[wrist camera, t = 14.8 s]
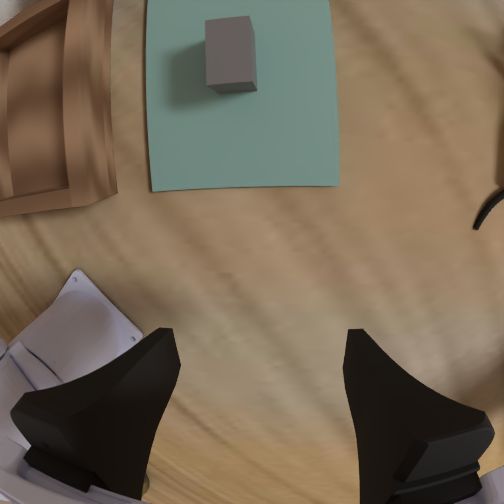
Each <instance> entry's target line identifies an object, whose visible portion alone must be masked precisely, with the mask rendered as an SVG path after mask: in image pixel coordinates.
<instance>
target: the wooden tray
mask: <svg viewBox="0 0 504 504" xmlns="http://www.w3.org/2000/svg"><path fill="white" fill-rule="evenodd" d="M112 11H113V0H40V1H38V2H37V3H35V4H33V5H32V6H30V7H29V8H27V9H25V10H24V11H22V12H21V13H19V14H18V15H16V16H15V17H13V18H12V19H11V20H9V21H8V22H6V23H5V24H3V25H2V26H1V27H0V217H6V216H12V215H19V214H25V213H32V212H40V211H47V210H55V209H63V208H71V207H80V206H87V205H90V204H92V203H94V202H97V201H99V200H102V199H104V198H107V197H110V196H112V195H115V194H117V193H118V191H117V183H116V174H115V164H114V153H113V140H112V125H111V102H110V46H111V25H112Z"/></svg>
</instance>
